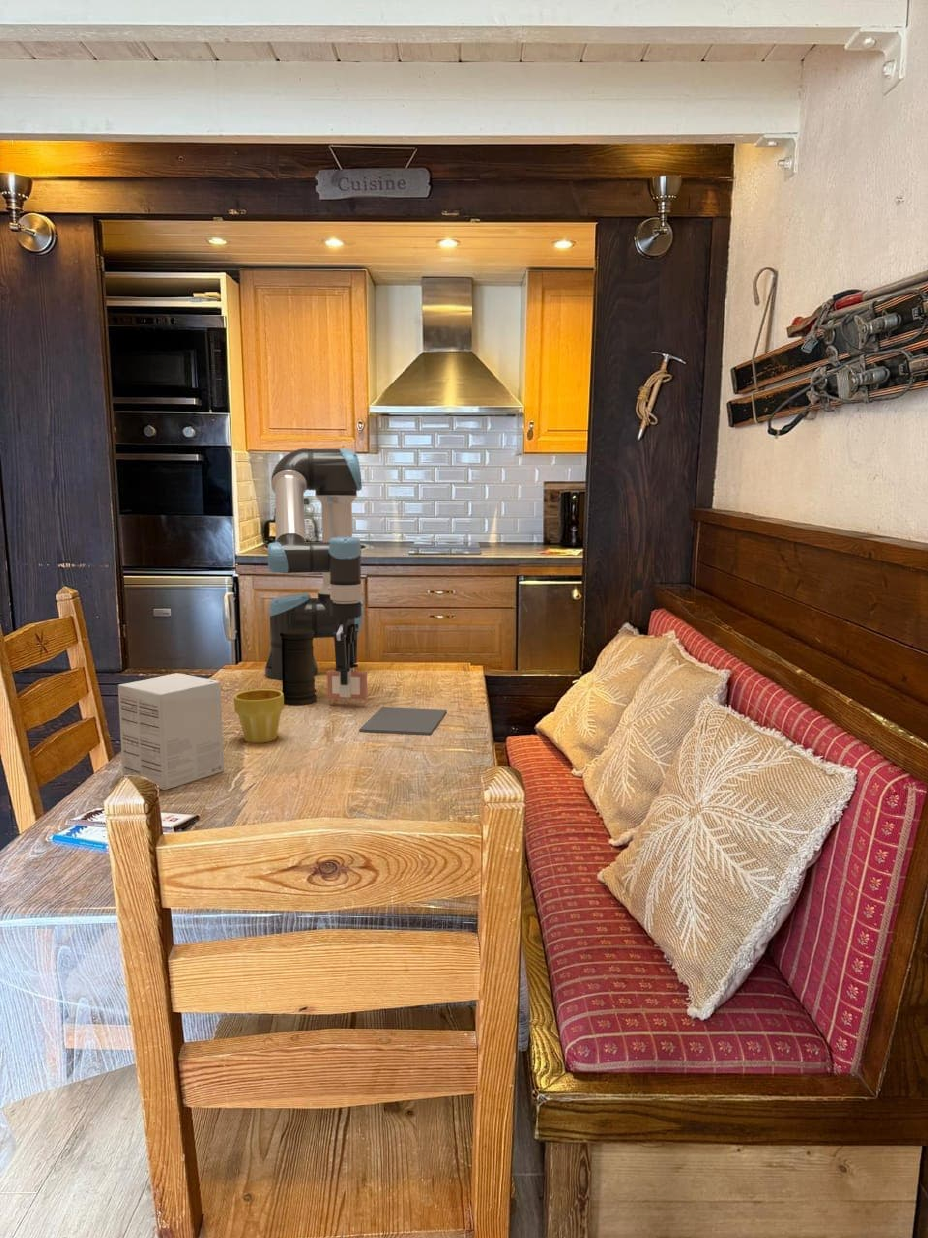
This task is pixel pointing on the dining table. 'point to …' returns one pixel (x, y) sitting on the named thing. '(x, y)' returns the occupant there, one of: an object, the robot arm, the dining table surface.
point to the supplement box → (171, 729)
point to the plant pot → (259, 713)
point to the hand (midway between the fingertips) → (347, 695)
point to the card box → (356, 685)
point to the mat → (404, 721)
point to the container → (298, 667)
